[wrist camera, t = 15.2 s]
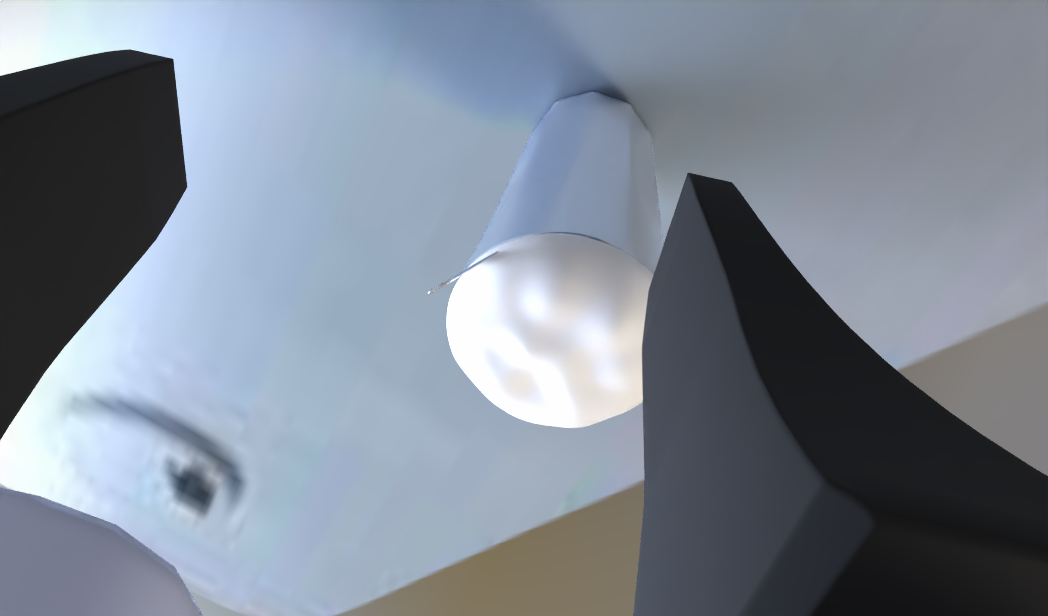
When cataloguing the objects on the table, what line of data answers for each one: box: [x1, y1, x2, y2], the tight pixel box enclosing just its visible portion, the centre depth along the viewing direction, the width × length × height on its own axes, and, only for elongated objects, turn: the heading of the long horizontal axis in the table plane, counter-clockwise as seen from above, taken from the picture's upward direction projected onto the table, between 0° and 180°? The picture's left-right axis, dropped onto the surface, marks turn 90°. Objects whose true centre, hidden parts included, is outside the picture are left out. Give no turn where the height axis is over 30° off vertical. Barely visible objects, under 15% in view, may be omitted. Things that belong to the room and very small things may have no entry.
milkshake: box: [428, 91, 664, 428], centre depth 18 cm, size 5×5×10 cm
